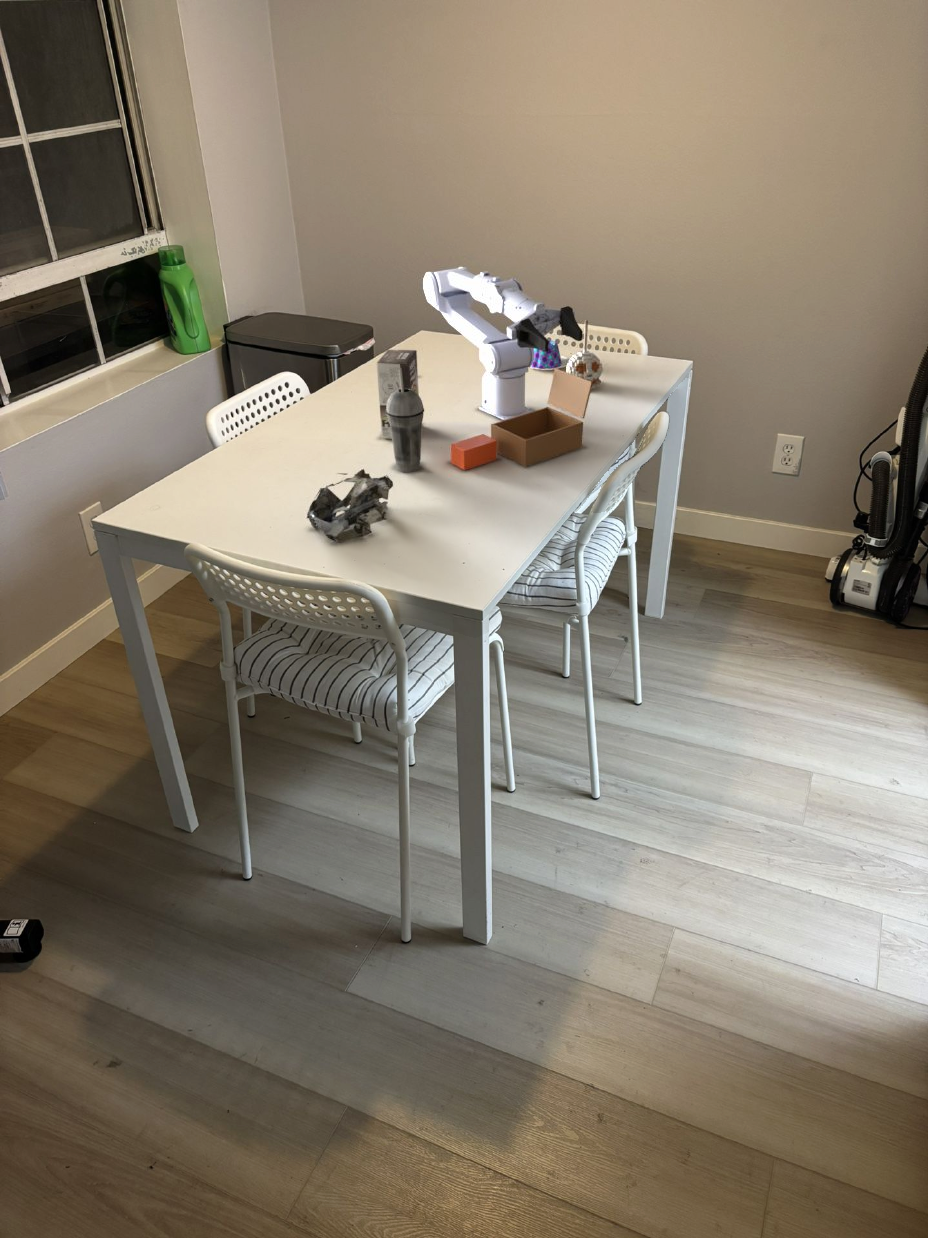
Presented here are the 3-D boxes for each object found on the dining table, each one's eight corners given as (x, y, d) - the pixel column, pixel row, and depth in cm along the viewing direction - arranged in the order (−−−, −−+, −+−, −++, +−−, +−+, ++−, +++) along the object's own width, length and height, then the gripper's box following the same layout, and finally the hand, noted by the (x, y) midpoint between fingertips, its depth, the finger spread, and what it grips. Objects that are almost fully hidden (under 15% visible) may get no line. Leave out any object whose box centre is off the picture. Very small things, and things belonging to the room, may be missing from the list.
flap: (547, 403, 195) (548, 403, 196) (582, 418, 188) (584, 418, 188) (555, 368, 192) (556, 368, 193) (591, 381, 185) (593, 382, 185)
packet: (450, 463, 186) (450, 443, 184) (483, 452, 190) (483, 433, 188) (464, 470, 183) (463, 451, 181) (497, 459, 187) (496, 440, 185)
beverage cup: (432, 461, 187) (428, 361, 176) (418, 476, 181) (413, 374, 170) (398, 457, 189) (391, 358, 178) (383, 472, 184) (376, 370, 172)
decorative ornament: (572, 392, 217) (575, 326, 209) (562, 381, 224) (564, 317, 216) (604, 389, 219) (608, 323, 211) (593, 378, 225) (597, 314, 217)
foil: (298, 497, 167) (365, 447, 165) (336, 541, 173) (403, 493, 170) (298, 525, 157) (370, 472, 155) (339, 570, 163) (410, 520, 160)
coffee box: (411, 440, 196) (406, 363, 187) (380, 438, 197) (375, 362, 189) (421, 423, 204) (417, 349, 195) (392, 422, 205) (387, 347, 196)
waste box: (546, 431, 199) (547, 406, 196) (582, 447, 191) (583, 421, 188) (491, 449, 192) (490, 424, 189) (525, 466, 184) (525, 440, 181)
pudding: (576, 369, 230) (577, 348, 228) (528, 374, 228) (528, 352, 226) (561, 354, 240) (562, 333, 237) (515, 359, 238) (515, 338, 235)
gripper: (495, 303, 185) (531, 331, 177) (558, 285, 190) (596, 311, 181) (495, 336, 190) (531, 365, 181) (556, 318, 195) (594, 345, 186)
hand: (564, 341), depth 182 cm, fingers open, 7 cm apart
